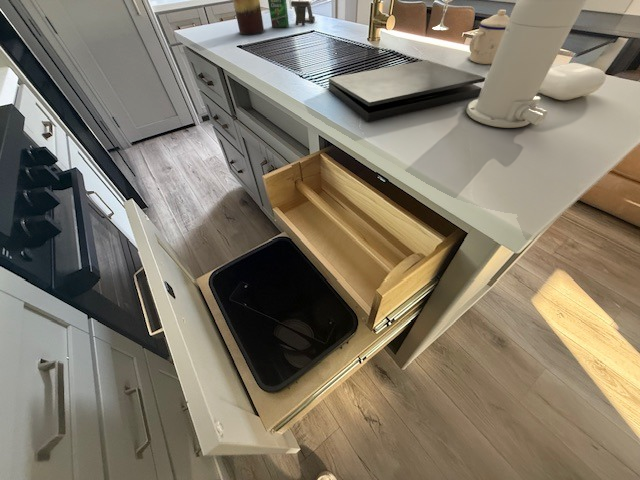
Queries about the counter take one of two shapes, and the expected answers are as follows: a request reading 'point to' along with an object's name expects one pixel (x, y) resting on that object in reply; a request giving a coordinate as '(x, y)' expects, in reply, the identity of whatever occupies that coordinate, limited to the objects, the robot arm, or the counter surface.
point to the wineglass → (441, 26)
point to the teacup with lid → (488, 38)
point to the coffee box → (278, 13)
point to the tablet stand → (302, 11)
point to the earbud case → (571, 81)
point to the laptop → (406, 101)
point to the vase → (249, 16)
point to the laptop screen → (403, 82)
